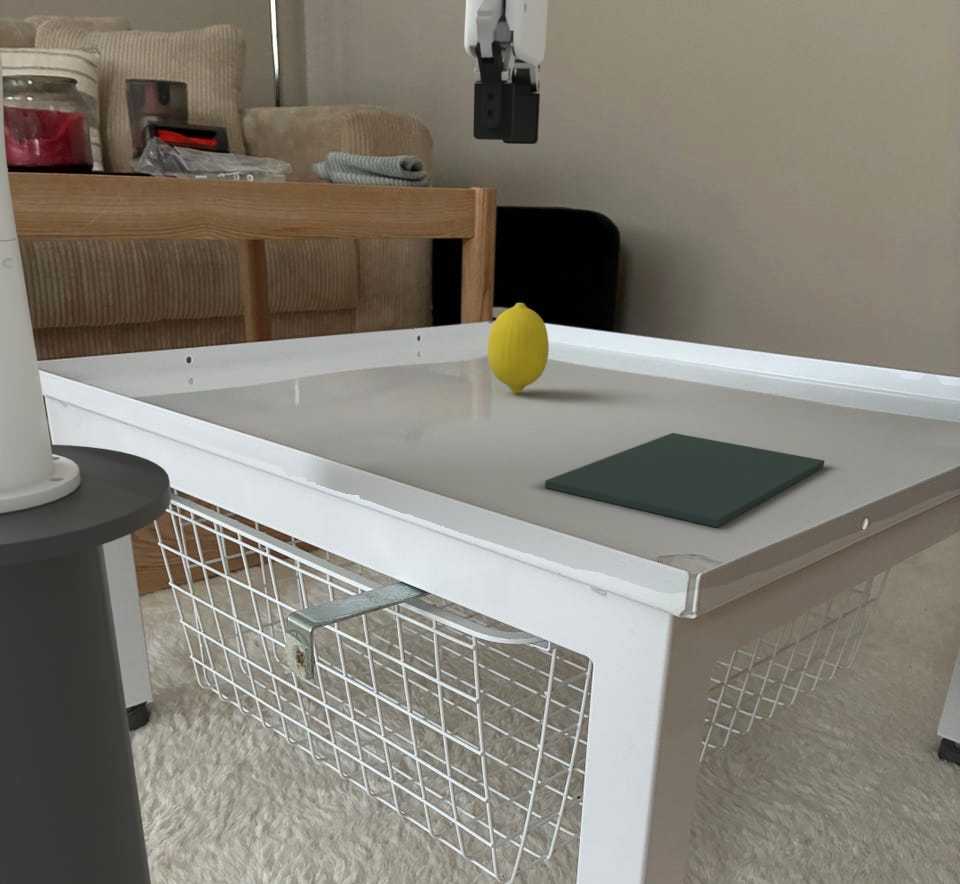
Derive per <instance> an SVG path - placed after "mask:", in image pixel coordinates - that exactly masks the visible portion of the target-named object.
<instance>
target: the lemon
mask: <svg viewBox="0 0 960 884" xmlns="http://www.w3.org/2000/svg"><path fill="white" fill-rule="evenodd" d="M548 335H549V334H548V331H547V327H546V324H545V322H544V320H543V318H542V317H541V316H540V315H539V314H538V313H537V312H536V311H534V310H532V309H530V308H529V307H527V305H526V304H525V303H523V302H516V303H515V304H514V306H511V307H510V308H508V309H506V310H504V311H503V312H501V313H500V315H498V316H497V317H496V319H495V320H494V322H493V323H492V326H491V328H490V333H489V337H488V341H487V342H488V343H487V358H488V364H489V366H490V369H491V371H492V373H493V375H494V376H495V378H496V379H497V380H498V381H500V382H501V383H502V384H504V385H506V386H507V387H508V388H509V389H510V391H511V392H512V393H513V394H520V393H521V392H522V391H523V390H524V389H525V387H527V386H529V385H531V384H533V383H535V382H536V381H537V380H538V379H539V378H540V377H541V376H542V375H543V373H544V371H545V370H546V367H547V364H548V360H549V350H550V349H549V348H550V347H549V344H550V343H549V336H548Z"/></svg>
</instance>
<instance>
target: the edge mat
mask: <svg viewBox="0 0 960 884" xmlns="http://www.w3.org/2000/svg"><path fill="white" fill-rule="evenodd" d="M824 465H825V460H824V459H819V458H813V457H808V456H802V455H798V454H793V453H792V454H791V453H786V452H780V451H775V450H770V449H765V448H764V449H763V448H759V447H753V446H747V445H741V444H738V443H737V444H736V443H731V442H726V441H720V440H714V439H710V438H709V439H707V438H704V437H698V436H693V435H685V434H681V433H677V432H672V433H669V434H666V435H663V436H661V437H658V438H656V439H652V440H650V441H647V442H645V443H642V444H639V445H637V446H633V447H631V448H628V449H626V450H623V451H620V452H618V453H615V454H612V455H610V456H607V457H603V458H602V459H599V460H597V461H594V462H591V463H588V464H586V465H582V466H580V467H578V468H574V469H573V470H569V471H567V472H564V473H562V474H559V475H556V476H554V477H551V478H548V479H546V480H544V481H545V483H544V487H545V488H546V489H550V490H553V491H558V492H563V493H567V494H571V495H576V496H580V497H585V498H588V499H593V500H596V501H601V502H606V503H611V504H615V505H618V506H623V507H626V508H631V509H636V510H640V511H644V512H649V513H653V514H657V515H662V516H666V517H669V518H675V519H679V520H683V521H688V522H692V523H696V524H700V525H705V526H708V527H713V528H719V527H720V526H722V525H724V524H725V523H727V522H729V521H732V520H733V519H734V518H736V517H738V516H740V515H741V514H744V513H745V512H747V511H748V510H750V509H752V508H753V507H756V506H758V505H759V504H761V503H763V502H765V501H766V500H768V499H769V498H771V497H773V496H776V494H778V493H780V492H782V491H784V490H786V489H787V488H789V487H791V486H792V485H794V484H796V483H798V482H799V481H801V480H803V479H805V478H806V477H809V476H810V475H812V474H813V473H815V472H818V470H821V469H823V467H824Z"/></svg>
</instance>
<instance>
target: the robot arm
mask: <svg viewBox="0 0 960 884" xmlns="http://www.w3.org/2000/svg"><path fill="white" fill-rule="evenodd" d="M548 5H549V0H465V15H464V16H465V17H464V36H463V37H464V39H463V40H464V41H463V44H464V51H465V52H466V54H467V55H468V56H469V57H470V58H471V59H472V60H475V65H474V73H473V76H474V83H473V84H474V85H473V89H474V90H473V129H472V130H473V132H472V133H473V134H472V135H473V137H474V139H476V140H487V141H489V140H491V141H502V142H503V143H504V144H508V145H509V144H510V145H511V144H513V145H514V144H515V145H535V144H537V143H538V141H539V128H540V127H539V123H540V102H541V93H540V90H541V80H540V79H541V78H540V69H541V65H540V64H541V63H542V62H543V61H544V60H545V59H544V58H545V54H546V53H545V52H546V44H547V32H548V31H547V30H548V9H549V6H548ZM2 61H3V59H2V52H1V51H0V514H4V513H10V512H15V511H21V510H25V509H29V508H34V507H38V506H41V505H45V504H48V503H51V502H54V501H56V500H59V499H61V498H63V497H66V496H67V495H69V494H71V493H72V492H74V491H75V490H76V489H77V488H78V486H79V485H80V482H81V477H80V472H79V467H78V465H77V464H76V463H75V462H73V461H72V460H69V459H67V458H65V457H62V456H58V455H54V454H52V450H51V445H52V443H51V438H50V433H49V432H50V431H49V425H48V418H47V414H46V413H47V412H46V407H45V401H44V393H43V388H42V382H41V375H40V374H41V373H40V368H39V361H38V356H37V349H36V343H35V337H34V332H33V331H34V330H33V325H32V319H31V318H32V317H31V312H30V306H29V301H28V300H29V298H28V293H27V287H26V282H25V281H26V280H25V273H24V268H23V262H22V255H21V250H20V248H21V247H20V242H19V237H18V232H17V227H16V220H15V214H14V206H13V200H12V195H11V194H12V193H11V187H10V179H9V170H8V163H7V162H8V161H7V151H6V139H5V121H4V120H5V119H4V118H5V116H4V114H5V113H4V85H3V84H4V83H3V62H2ZM515 70H516V71H515Z"/></svg>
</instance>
